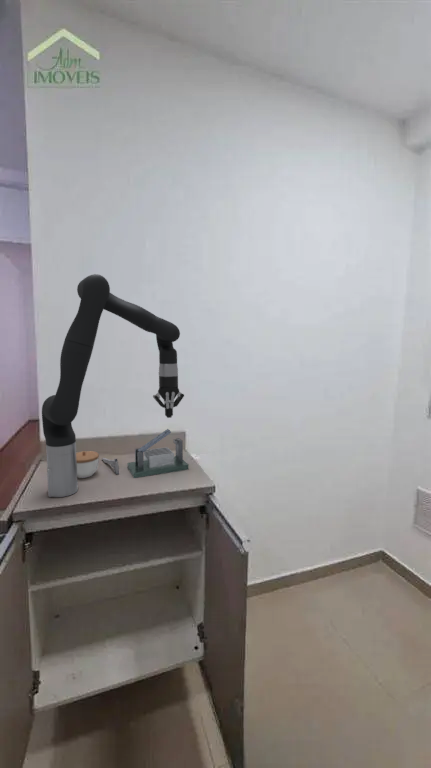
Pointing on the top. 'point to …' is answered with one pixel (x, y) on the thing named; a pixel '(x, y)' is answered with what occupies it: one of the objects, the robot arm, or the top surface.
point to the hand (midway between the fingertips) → (169, 417)
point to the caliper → (112, 464)
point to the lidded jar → (86, 463)
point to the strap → (154, 440)
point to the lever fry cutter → (158, 461)
